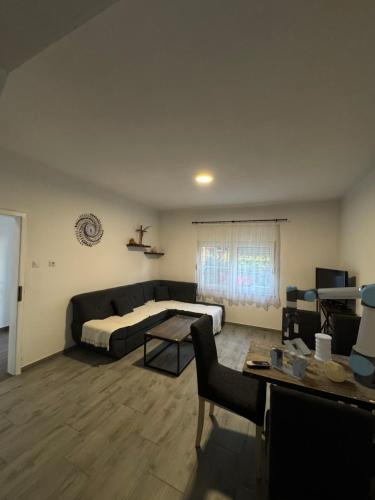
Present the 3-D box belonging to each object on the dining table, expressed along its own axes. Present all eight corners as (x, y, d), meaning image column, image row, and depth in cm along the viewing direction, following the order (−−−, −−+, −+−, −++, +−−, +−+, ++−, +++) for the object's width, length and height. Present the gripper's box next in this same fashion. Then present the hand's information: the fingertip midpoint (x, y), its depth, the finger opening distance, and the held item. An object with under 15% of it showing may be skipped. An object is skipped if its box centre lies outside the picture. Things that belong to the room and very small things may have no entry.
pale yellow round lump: (320, 374, 142) (320, 358, 143) (337, 374, 142) (337, 358, 143) (331, 384, 131) (331, 367, 131) (350, 384, 131) (350, 367, 131)
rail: (310, 365, 148) (310, 358, 148) (307, 367, 145) (307, 360, 145) (287, 355, 162) (287, 349, 162) (284, 357, 159) (284, 351, 159)
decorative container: (312, 354, 170) (312, 332, 171) (328, 356, 167) (328, 334, 167) (317, 361, 159) (317, 337, 159) (334, 364, 156) (334, 339, 156)
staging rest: (305, 367, 150) (305, 363, 150) (302, 369, 148) (302, 364, 148) (291, 361, 159) (291, 357, 159) (288, 362, 157) (288, 358, 157)
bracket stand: (307, 375, 140) (307, 359, 140) (300, 380, 135) (300, 363, 135) (276, 361, 158) (276, 347, 158) (269, 365, 153) (269, 350, 153)
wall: (309, 357, 173) (299, 340, 184) (312, 353, 167) (302, 335, 179) (290, 361, 172) (281, 343, 183) (293, 356, 166) (283, 338, 178)
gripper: (295, 303, 170) (295, 329, 170) (277, 307, 156) (277, 336, 155) (304, 305, 164) (304, 332, 163) (287, 309, 150) (287, 339, 149)
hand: (291, 334), depth 159 cm, fingers open, 13 cm apart
